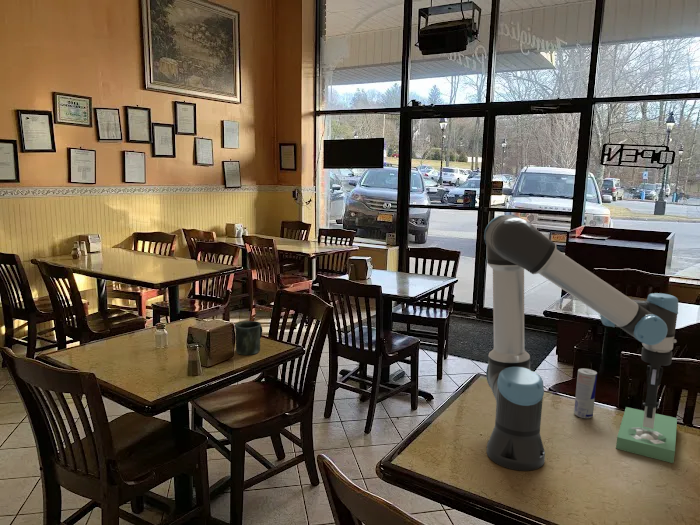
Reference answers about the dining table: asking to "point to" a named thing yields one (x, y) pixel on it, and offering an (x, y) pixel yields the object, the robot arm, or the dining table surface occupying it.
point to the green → (661, 433)
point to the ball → (647, 437)
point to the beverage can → (585, 393)
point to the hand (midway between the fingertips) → (648, 426)
